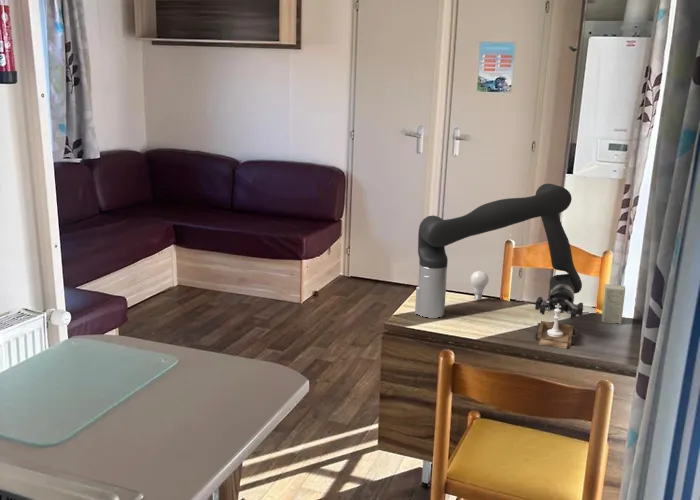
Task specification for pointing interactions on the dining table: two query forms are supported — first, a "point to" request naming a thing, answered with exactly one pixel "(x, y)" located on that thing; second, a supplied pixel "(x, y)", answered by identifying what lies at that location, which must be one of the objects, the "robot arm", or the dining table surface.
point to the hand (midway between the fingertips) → (557, 313)
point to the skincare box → (613, 303)
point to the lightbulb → (479, 283)
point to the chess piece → (555, 324)
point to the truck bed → (558, 342)
